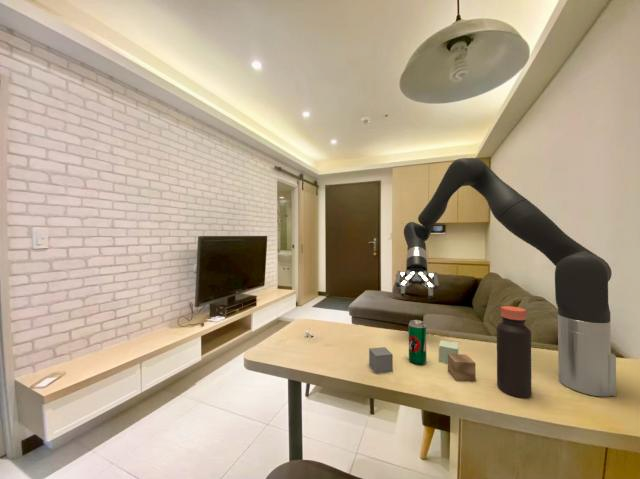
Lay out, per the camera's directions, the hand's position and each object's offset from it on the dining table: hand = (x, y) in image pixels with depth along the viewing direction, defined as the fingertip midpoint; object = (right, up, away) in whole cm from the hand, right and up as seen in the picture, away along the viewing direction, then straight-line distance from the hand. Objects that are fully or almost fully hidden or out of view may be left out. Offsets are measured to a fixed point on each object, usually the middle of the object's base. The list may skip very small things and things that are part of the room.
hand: (416, 297), depth 89 cm
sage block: (+6, -17, -10) cm, 21 cm away
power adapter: (-37, -18, +8) cm, 42 cm away
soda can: (-4, -17, -11) cm, 21 cm away
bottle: (+14, -17, -26) cm, 34 cm away
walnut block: (+5, -17, -20) cm, 26 cm away
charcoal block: (-16, -17, -15) cm, 28 cm away
